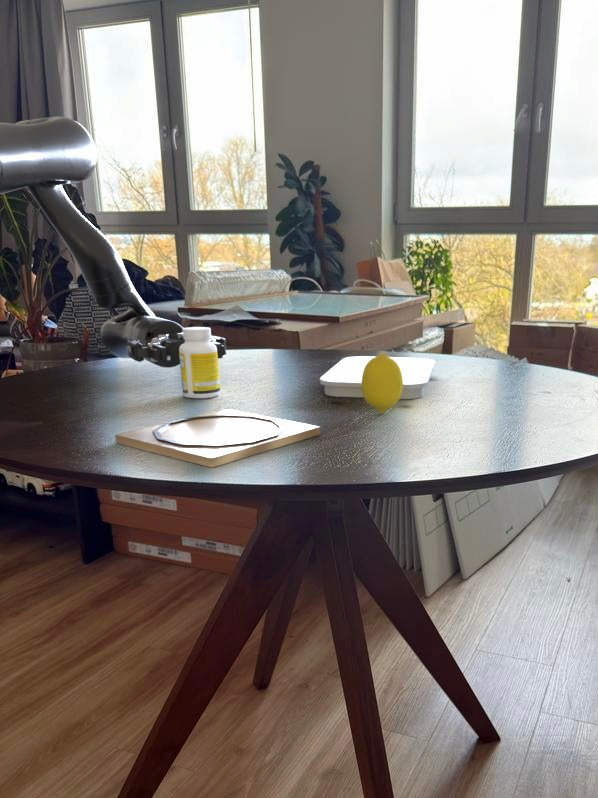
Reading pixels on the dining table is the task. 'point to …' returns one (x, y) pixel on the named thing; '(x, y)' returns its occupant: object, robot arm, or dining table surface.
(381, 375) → the lemon
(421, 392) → the white rectangular tray
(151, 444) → the mirror board
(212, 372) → the supplement bottle
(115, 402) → the dining table surface
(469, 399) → the dining table surface
